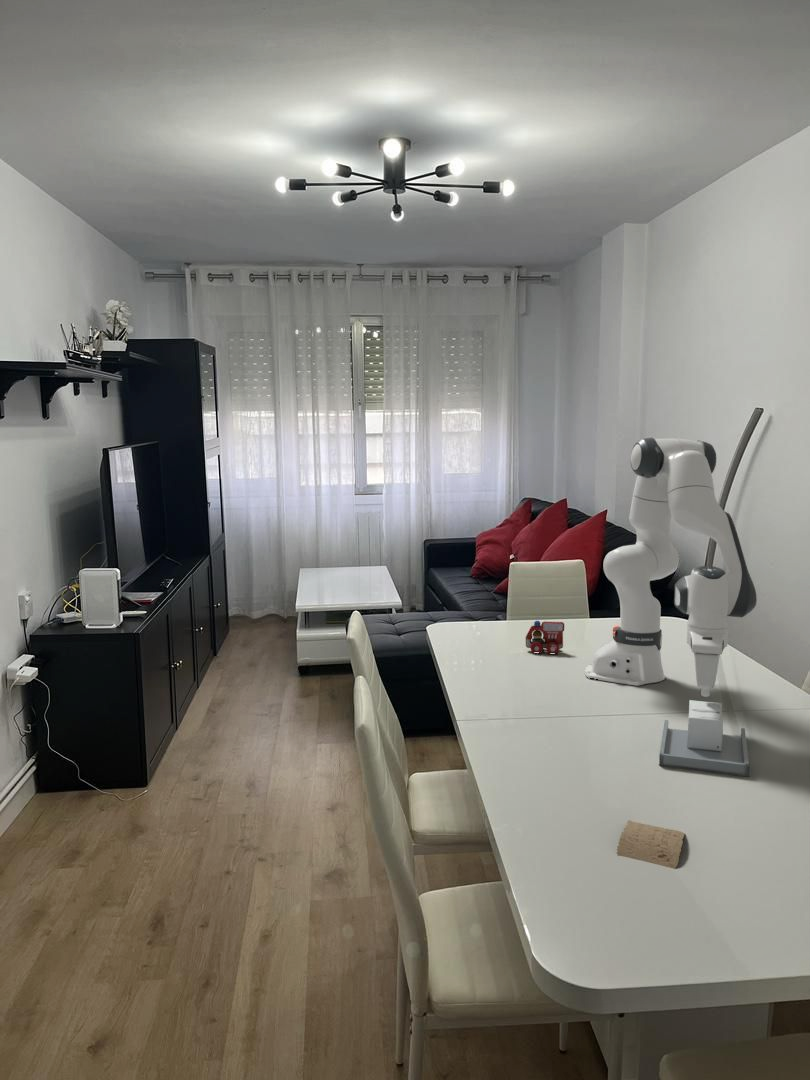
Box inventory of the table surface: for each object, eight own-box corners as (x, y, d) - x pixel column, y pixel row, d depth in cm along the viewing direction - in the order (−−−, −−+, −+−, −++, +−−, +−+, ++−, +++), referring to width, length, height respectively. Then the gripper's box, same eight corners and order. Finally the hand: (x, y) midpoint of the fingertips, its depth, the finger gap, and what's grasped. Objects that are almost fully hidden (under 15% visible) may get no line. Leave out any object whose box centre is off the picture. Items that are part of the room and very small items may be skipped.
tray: (659, 765, 170) (659, 754, 170) (664, 730, 190) (664, 720, 190) (748, 776, 164) (749, 765, 164) (744, 738, 184) (744, 728, 184)
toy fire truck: (526, 648, 264) (527, 617, 263) (564, 650, 261) (565, 619, 260) (524, 653, 257) (524, 622, 256) (563, 655, 254) (563, 624, 253)
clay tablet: (630, 823, 147) (630, 809, 146) (687, 834, 142) (688, 820, 142) (614, 861, 134) (614, 846, 134) (677, 875, 130) (677, 859, 129)
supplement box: (722, 702, 186) (724, 721, 174) (720, 732, 187) (722, 753, 175) (688, 698, 188) (688, 717, 177) (687, 728, 189) (686, 748, 178)
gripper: (693, 625, 195) (691, 680, 197) (691, 647, 176) (689, 707, 178) (721, 627, 193) (719, 682, 194) (722, 649, 174) (720, 710, 175)
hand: (705, 694), depth 186 cm, fingers closed
